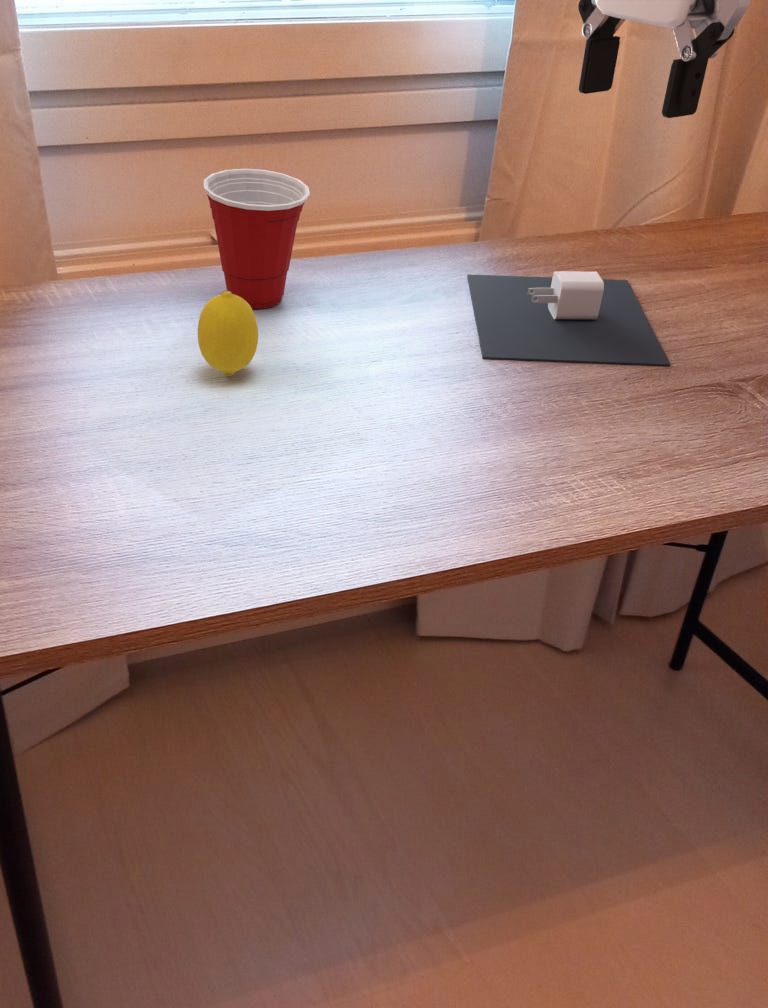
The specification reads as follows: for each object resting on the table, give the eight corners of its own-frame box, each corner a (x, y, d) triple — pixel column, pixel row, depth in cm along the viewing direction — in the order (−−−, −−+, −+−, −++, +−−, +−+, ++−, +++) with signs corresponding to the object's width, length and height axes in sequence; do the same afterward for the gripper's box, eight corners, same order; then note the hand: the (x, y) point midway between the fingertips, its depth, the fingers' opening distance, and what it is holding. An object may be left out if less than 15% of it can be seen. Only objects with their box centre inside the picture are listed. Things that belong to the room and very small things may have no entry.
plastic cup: (274, 328, 104) (275, 206, 97) (187, 306, 108) (181, 187, 101) (325, 293, 112) (329, 177, 104) (241, 274, 116) (239, 161, 108)
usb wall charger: (596, 322, 106) (604, 283, 103) (530, 321, 106) (536, 283, 103) (587, 306, 109) (595, 269, 106) (523, 306, 109) (529, 268, 106)
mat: (670, 366, 98) (670, 364, 98) (482, 358, 99) (483, 356, 99) (626, 281, 115) (627, 280, 115) (467, 276, 116) (467, 274, 116)
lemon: (270, 376, 96) (270, 292, 91) (226, 394, 93) (223, 308, 88) (231, 357, 99) (229, 275, 94) (187, 374, 96) (182, 290, 91)
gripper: (822, -159, 69) (749, 120, 79) (639, -165, 80) (598, 79, 91) (742, -157, 66) (678, 132, 77) (565, -164, 77) (531, 88, 88)
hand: (634, 103), depth 84 cm, fingers open, 9 cm apart
